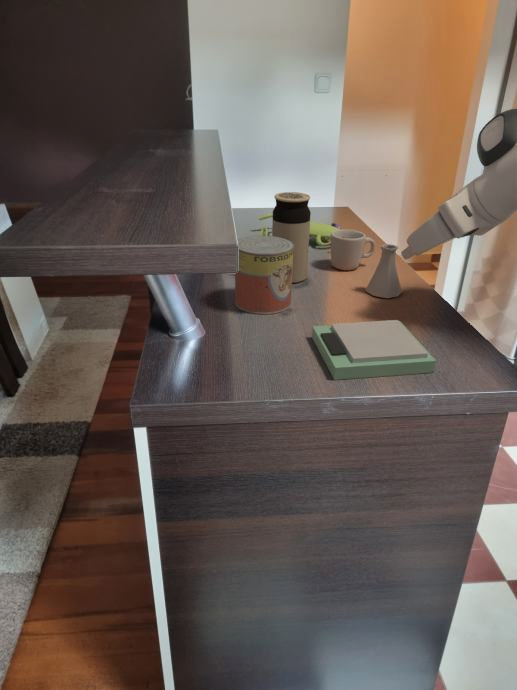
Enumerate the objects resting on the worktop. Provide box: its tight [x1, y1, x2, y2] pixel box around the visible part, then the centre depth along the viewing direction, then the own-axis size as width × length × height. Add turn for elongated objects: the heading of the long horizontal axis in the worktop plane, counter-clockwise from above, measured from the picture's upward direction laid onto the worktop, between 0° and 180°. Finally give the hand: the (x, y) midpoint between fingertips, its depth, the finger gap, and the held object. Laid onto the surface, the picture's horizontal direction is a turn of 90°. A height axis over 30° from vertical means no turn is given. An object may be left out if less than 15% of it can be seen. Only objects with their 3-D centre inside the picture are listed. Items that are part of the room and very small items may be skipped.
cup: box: [330, 229, 376, 271], centre depth 120 cm, size 11×8×8 cm
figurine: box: [258, 212, 342, 247], centre depth 138 cm, size 18×27×6 cm
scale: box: [311, 319, 437, 381], centre depth 84 cm, size 16×14×3 cm
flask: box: [364, 243, 402, 299], centre depth 106 cm, size 7×7×10 cm
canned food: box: [234, 235, 294, 315], centre depth 100 cm, size 11×11×12 cm
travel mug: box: [271, 191, 312, 284], centre depth 111 cm, size 8×8×18 cm
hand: (417, 250), depth 100 cm, fingers open, 8 cm apart
